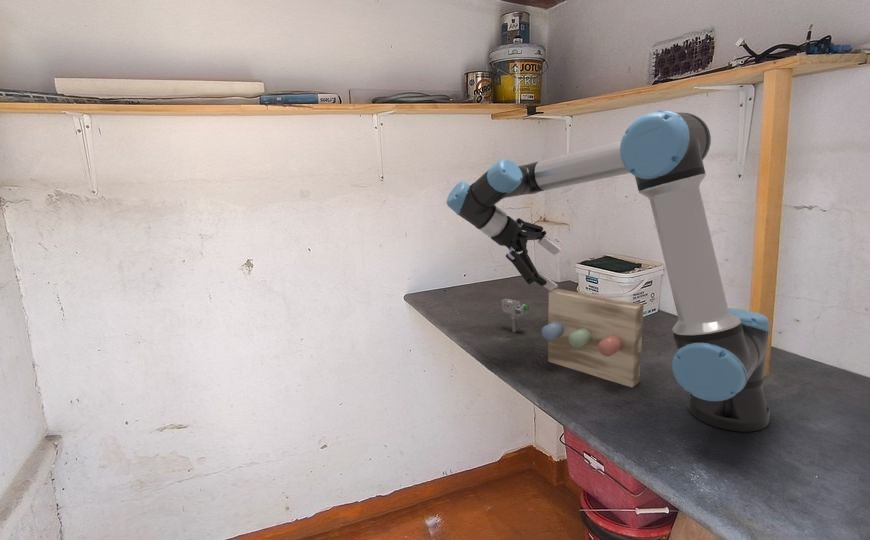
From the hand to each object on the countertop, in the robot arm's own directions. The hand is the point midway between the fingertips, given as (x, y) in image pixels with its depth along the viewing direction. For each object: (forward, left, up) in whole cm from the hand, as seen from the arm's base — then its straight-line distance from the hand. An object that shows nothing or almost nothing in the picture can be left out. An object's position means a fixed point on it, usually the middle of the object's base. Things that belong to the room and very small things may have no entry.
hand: (555, 269), depth 138 cm
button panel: (-14, -3, -25) cm, 29 cm away
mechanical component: (+21, +4, -25) cm, 33 cm away
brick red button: (-24, -2, -16) cm, 29 cm away
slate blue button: (-10, +6, -16) cm, 19 cm away
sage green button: (-17, +2, -16) cm, 23 cm away
